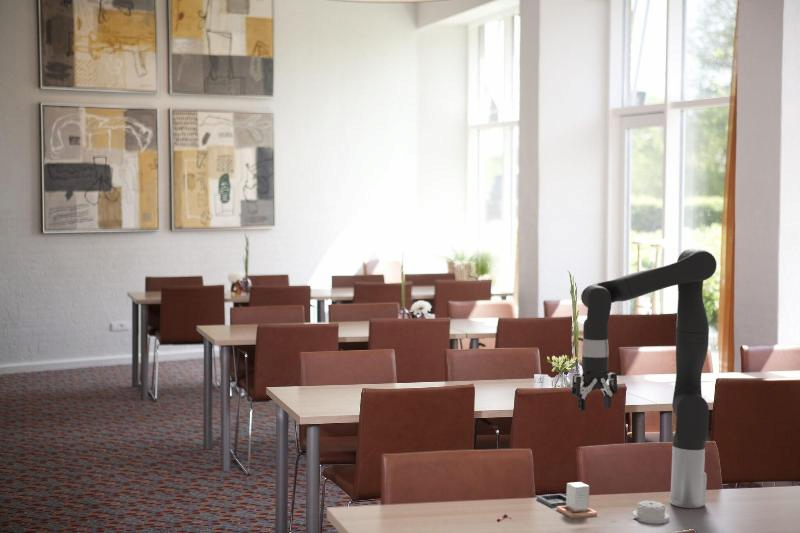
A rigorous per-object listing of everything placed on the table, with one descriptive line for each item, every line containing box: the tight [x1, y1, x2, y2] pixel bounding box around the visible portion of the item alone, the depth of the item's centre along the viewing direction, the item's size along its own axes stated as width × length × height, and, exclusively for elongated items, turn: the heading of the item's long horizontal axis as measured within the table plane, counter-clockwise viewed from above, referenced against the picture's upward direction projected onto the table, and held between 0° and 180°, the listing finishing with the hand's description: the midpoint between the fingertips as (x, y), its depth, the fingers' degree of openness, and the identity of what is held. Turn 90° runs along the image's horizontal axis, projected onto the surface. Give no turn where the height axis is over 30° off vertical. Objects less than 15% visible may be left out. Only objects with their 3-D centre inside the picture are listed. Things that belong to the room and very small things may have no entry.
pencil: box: [496, 513, 508, 522], centre depth 288 cm, size 1×19×1 cm, turn 152°
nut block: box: [565, 481, 590, 514], centre depth 286 cm, size 4×4×8 cm
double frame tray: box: [535, 493, 601, 521], centre depth 291 cm, size 9×20×2 cm, turn 23°
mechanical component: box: [632, 500, 670, 525], centre depth 286 cm, size 10×4×10 cm
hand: (594, 409), depth 296 cm, fingers open, 8 cm apart
